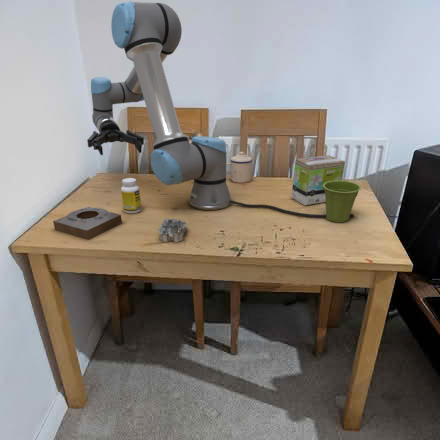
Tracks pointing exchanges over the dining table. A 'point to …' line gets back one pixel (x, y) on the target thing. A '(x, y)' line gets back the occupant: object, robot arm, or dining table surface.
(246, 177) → the teacup with lid
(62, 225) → the bottle stand
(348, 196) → the plant pot
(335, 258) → the dining table surface
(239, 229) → the dining table surface
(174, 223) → the egg carton
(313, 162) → the tea box
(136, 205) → the pill bottle
